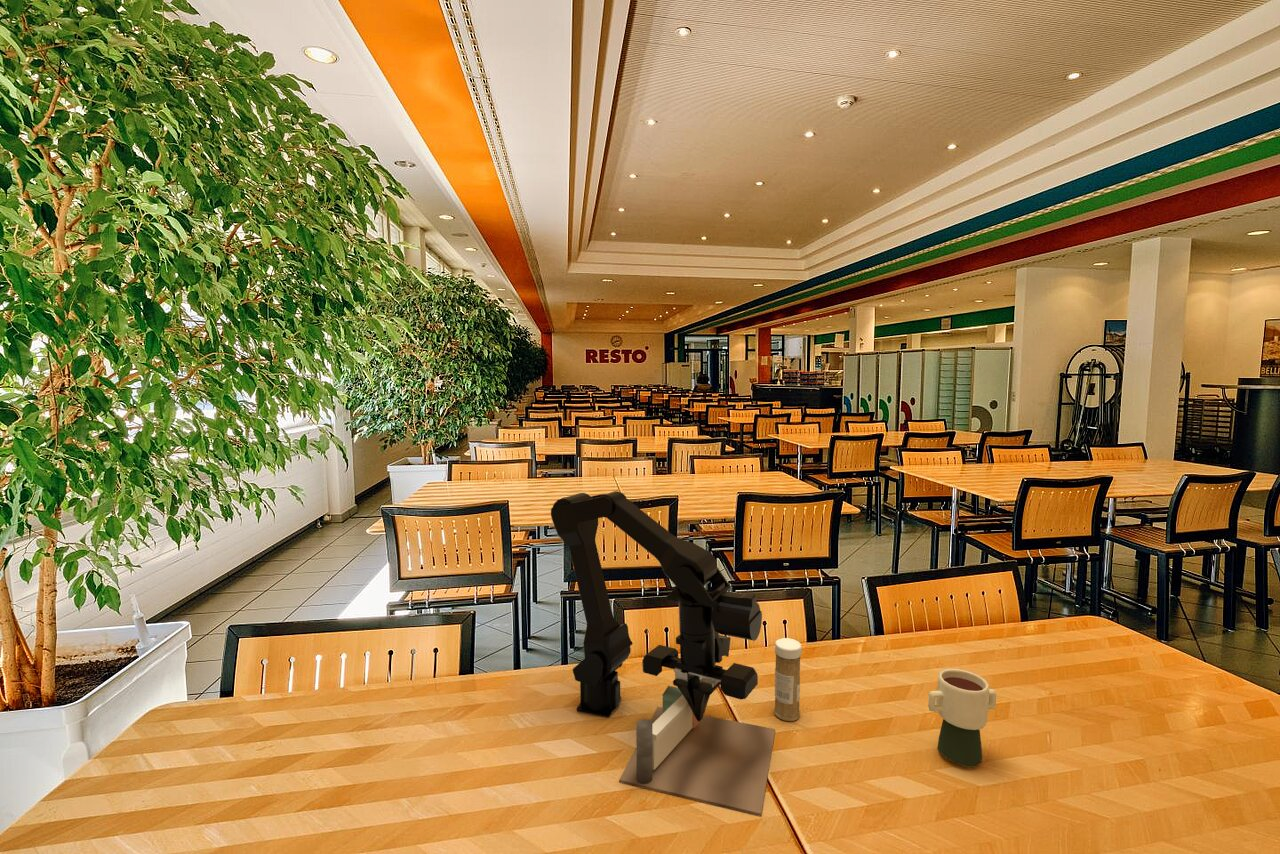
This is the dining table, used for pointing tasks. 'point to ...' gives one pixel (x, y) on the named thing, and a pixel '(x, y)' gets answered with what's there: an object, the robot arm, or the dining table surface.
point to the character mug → (962, 714)
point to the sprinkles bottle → (787, 679)
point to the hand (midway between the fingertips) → (699, 719)
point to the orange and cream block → (671, 729)
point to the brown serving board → (706, 761)
